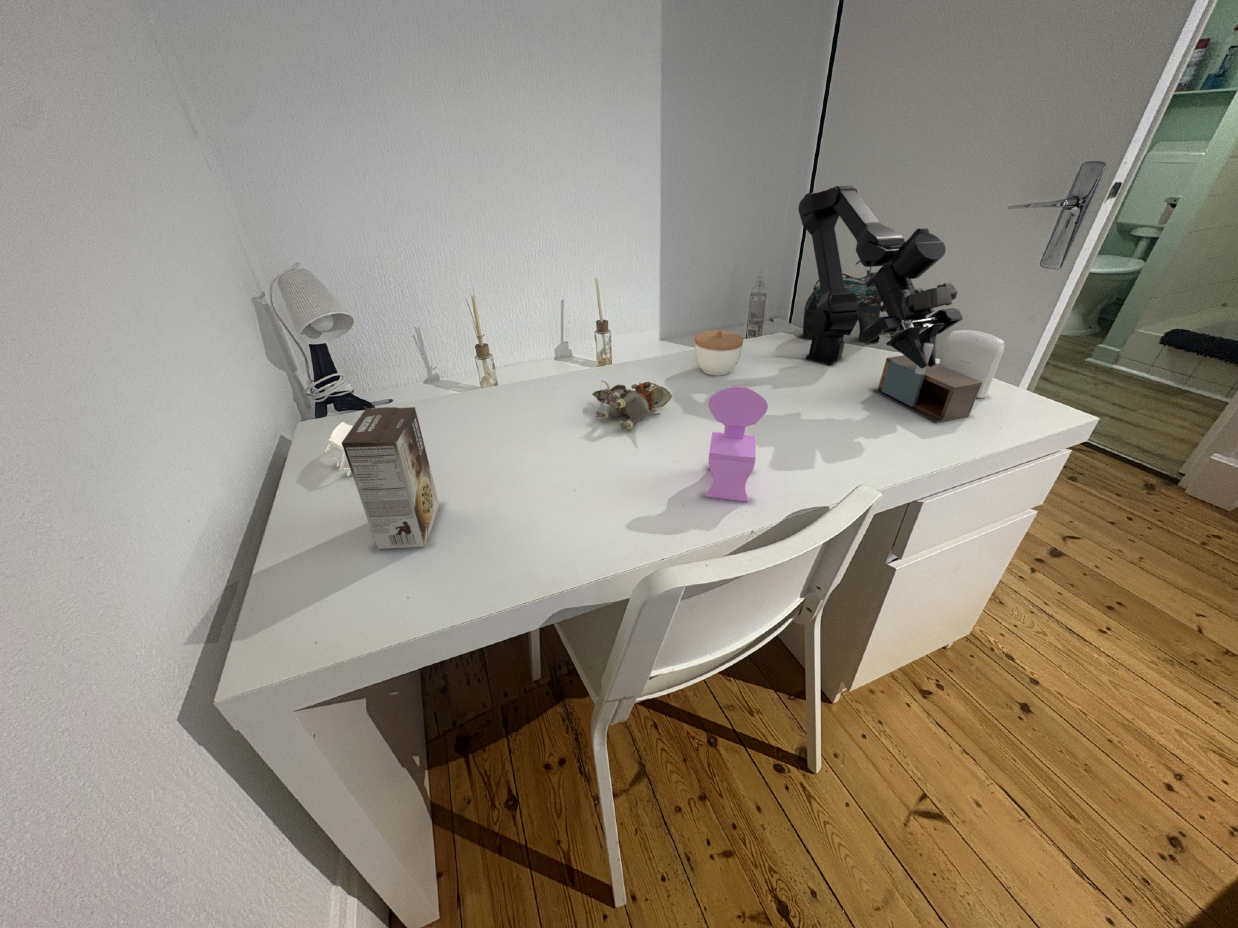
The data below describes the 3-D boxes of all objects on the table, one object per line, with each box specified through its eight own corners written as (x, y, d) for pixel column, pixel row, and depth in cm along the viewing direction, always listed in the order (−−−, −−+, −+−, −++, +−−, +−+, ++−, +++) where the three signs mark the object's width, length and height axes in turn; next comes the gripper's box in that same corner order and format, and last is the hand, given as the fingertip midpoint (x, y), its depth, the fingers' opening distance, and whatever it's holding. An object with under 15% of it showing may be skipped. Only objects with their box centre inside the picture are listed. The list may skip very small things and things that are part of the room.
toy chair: (697, 497, 75) (706, 405, 67) (702, 466, 83) (711, 380, 75) (755, 504, 74) (771, 411, 66) (755, 472, 81) (769, 384, 73)
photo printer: (928, 385, 110) (947, 328, 103) (936, 380, 112) (956, 324, 105) (980, 400, 103) (1004, 341, 96) (989, 395, 105) (1013, 336, 99)
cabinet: (872, 390, 108) (881, 358, 104) (903, 385, 110) (913, 353, 106) (935, 423, 95) (948, 388, 91) (969, 416, 97) (982, 382, 93)
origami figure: (394, 462, 84) (386, 436, 82) (340, 481, 80) (330, 454, 77) (369, 436, 92) (361, 411, 89) (318, 452, 87) (309, 426, 85)
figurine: (567, 384, 98) (626, 361, 109) (570, 413, 101) (627, 388, 112) (647, 409, 86) (705, 380, 96) (647, 441, 89) (703, 410, 99)
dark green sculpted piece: (876, 337, 137) (897, 258, 126) (881, 345, 131) (903, 263, 121) (799, 332, 141) (813, 255, 130) (800, 340, 135) (815, 260, 125)
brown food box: (395, 508, 74) (365, 406, 65) (441, 505, 74) (417, 404, 65) (375, 550, 66) (338, 442, 57) (426, 547, 66) (396, 439, 58)
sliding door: (879, 391, 106) (896, 333, 99) (885, 390, 106) (902, 332, 100) (910, 407, 99) (930, 346, 93) (916, 406, 100) (936, 345, 93)
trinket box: (684, 373, 116) (687, 333, 111) (703, 359, 124) (706, 320, 119) (729, 383, 111) (733, 341, 106) (746, 367, 119) (751, 327, 114)
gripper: (889, 271, 88) (923, 351, 85) (970, 263, 93) (1005, 339, 90) (847, 307, 98) (876, 380, 95) (922, 298, 104) (952, 367, 100)
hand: (928, 366), depth 95 cm, fingers closed on sliding door, 2 cm apart
